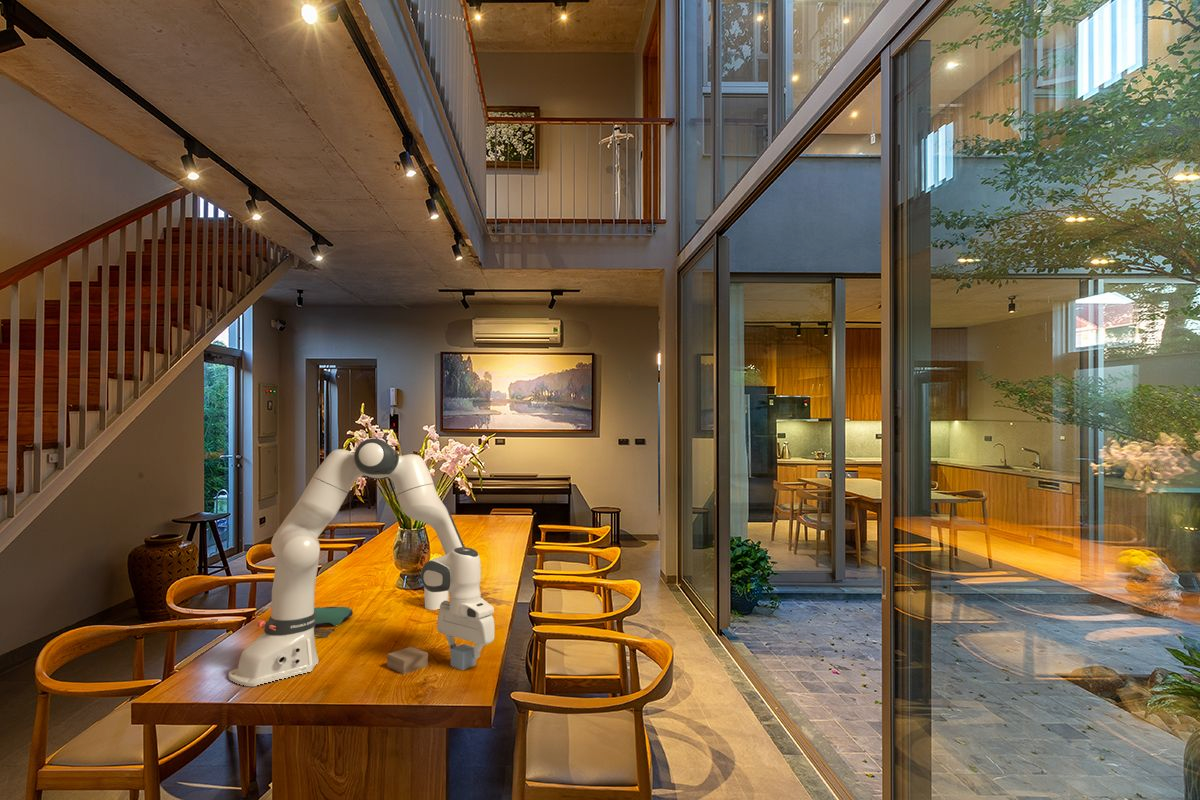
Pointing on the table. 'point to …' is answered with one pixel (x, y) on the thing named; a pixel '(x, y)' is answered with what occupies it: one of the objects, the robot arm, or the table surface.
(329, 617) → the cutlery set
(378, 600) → the table surface
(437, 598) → the candle holder
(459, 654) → the block
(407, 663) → the walnut base
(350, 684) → the table surface
